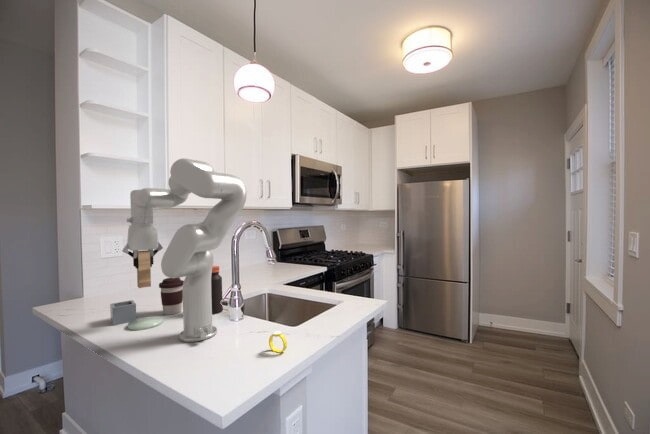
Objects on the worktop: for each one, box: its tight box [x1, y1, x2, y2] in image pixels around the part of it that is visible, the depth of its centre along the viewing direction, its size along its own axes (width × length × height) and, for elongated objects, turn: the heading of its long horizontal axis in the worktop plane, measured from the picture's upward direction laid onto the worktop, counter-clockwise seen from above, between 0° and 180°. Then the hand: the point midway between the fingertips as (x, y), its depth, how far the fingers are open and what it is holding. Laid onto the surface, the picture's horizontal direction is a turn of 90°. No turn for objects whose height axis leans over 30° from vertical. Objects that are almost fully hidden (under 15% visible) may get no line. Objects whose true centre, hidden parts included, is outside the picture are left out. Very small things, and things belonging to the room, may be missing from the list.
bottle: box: [211, 265, 224, 315], centre depth 135 cm, size 7×7×20 cm
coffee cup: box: [158, 277, 184, 316], centre depth 136 cm, size 10×10×15 cm
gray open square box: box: [109, 299, 137, 326], centre depth 127 cm, size 8×8×7 cm
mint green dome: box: [127, 315, 164, 331], centre depth 121 cm, size 12×12×1 cm
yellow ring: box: [268, 330, 288, 354], centre depth 95 cm, size 6×3×6 cm, turn 61°
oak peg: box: [136, 250, 152, 289], centre depth 121 cm, size 4×4×14 cm
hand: (143, 266), depth 121 cm, fingers closed on oak peg, 4 cm apart
